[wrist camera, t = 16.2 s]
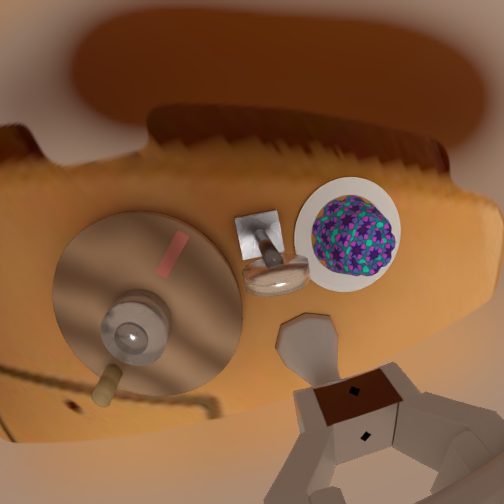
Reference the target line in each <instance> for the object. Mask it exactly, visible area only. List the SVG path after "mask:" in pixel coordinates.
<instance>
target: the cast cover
mask: <svg viewBox="0 0 504 504" xmlns="http://www.w3.org/2000/svg"><path fill="white" fill-rule="evenodd" d="M171 327H172V315H171V311H170V309H169V307H168V305H167V304H166V302H165V301H164V300H163V299H162V298H161V297H160V296H158V295H157V294H155V293H154V292H152V291H149V290H145V289H131V290H128V291H126V292H124V293H123V294H122V295H121V296H120V297H119V298H118V299H117V300H116V302H115V303H114V304H113V306H112V307H111V308H110V309H109V311H108V312H107V313H106V315H105V316H104V318H103V319H102V322H101V326H100V333H101V338H102V341H103V343H104V345H105V347H106V348H107V350H108V351H109V352H110V353H111V354H112V355H113V356H114V357H115V358H117V359H118V360H120V361H122V362H124V363H126V364H129V365H134V366H145V365H149V364H152V363H153V362H155V361H157V360H158V359H159V358H160V357H161V355H162V354H163V352H164V349H165V346H166V343H167V339H168V336H169V333H170V330H171Z"/></svg>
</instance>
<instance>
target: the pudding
mask: <svg viewBox="0 0 504 504" xmlns="http://www.w3.org/2000/svg"><path fill="white" fill-rule="evenodd" d="M344 195H357V196H361V197H363V198H366V199H367V200H369V201H370V202H372V203H373V204H374V205H375V206H376V207H374V206H373V205H372V204H366V203H365V202H364V201H363V200H362V199H361V198H359V197H357V196H348V197H347V198H346V199H345V200H343V201H338V200H334V201H332V202H330V201H331V200H333V199H335V198H337V197H340V196H344ZM328 202H329V203H328ZM327 203H328V204H327ZM326 204H327V205H326ZM325 205H326V207H325V208H324V213H323V216H322V217H320V218H318V219H317V220H316V221H315V223H314V220H315V218H316V216H317V215H318V213H319V211H320V210H321V209H322V208H323V207H324V206H325ZM313 223H314V225H313ZM312 226H313V235H314V236H315V238H316V242H315V244H314V251H313V248H312V243H311V232H312ZM400 235H401V226H400V219H399V215H398V211H397V209H396V207H395V204H394V202H393V201H392V199H391V198H390V196H389V195H388V194H387V193H386V192H385V191H384V190H383V189H382V188H381V187H379V186H378V185H377V184H375V183H373V182H371V181H369V180H366V179H362V178H358V177H345V178H339V179H336V180H333V181H330V182H328V183H326V184H325V185H323V186H321V187H320V188H319V189H318V190H316V191H315V192H314V193H313V194H312V195H311V196H310V197H309V199H308V200H307V201H306V202H305V204H304V206H303V208H302V209H301V211H300V213H299V216H298V219H297V222H296V227H295V232H294V245H295V251H296V255H302V256H304V257H306V258H307V259H308V262H309V269H310V276H311V280H312V281H314V282H315V283H316V284H318V285H319V286H321V287H323V288H325V289H328V290H332V291H337V292H351V291H356V290H359V289H362V288H364V287H367V286H369V285H370V284H372V283H373V282H375V281H376V280H378V279H379V278H380V277H381V276H382V275H383V274H384V273H385V272H386V270H387V269H388V268H389V267H390V265H391V263H392V262H393V260H394V258H395V256H396V253H397V251H398V247H399V243H400ZM314 252H315V254H316V256H317V257H318V259H321V260H325V261H326V264H327V268H329V269H330V270H331V271H330V270H328V269H327V268H325V267H324V266H323V265H322V264H321V263H320V262H319V261H318V259H317V257H316V256H315V254H314ZM332 271H333V272H332ZM335 272H338V273H335ZM339 273H343V274H339Z"/></svg>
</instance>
